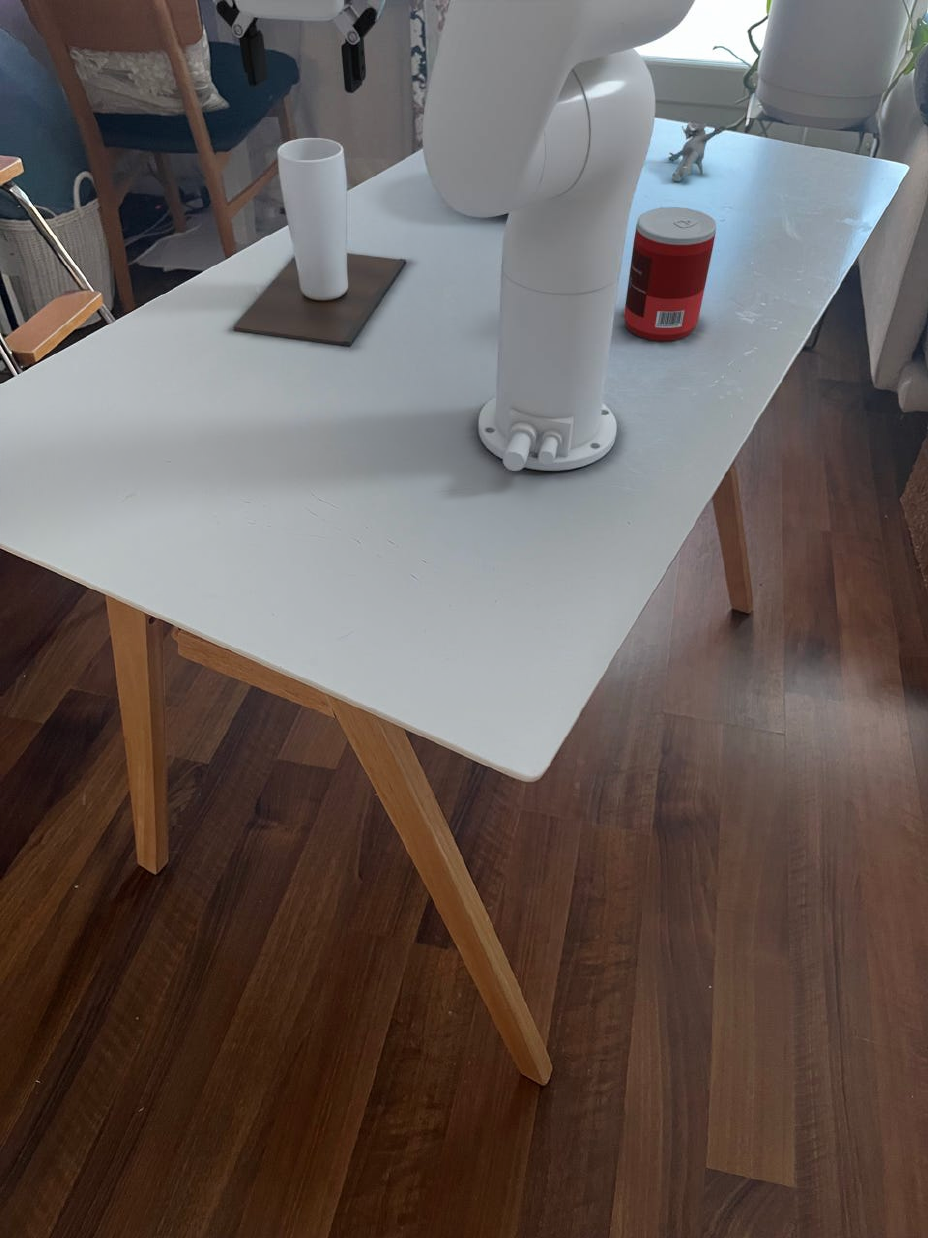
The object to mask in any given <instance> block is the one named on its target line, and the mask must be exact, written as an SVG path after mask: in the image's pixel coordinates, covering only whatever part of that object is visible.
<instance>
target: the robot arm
mask: <svg viewBox="0 0 928 1238" xmlns="http://www.w3.org/2000/svg"><path fill="white" fill-rule="evenodd" d="M211 1H212V2H213V3H214V4H215V8H216V9H215V10H216V12H217V13H218V15H219V16H220V17H221V18H222V19H223V20H224V22H226V24H228V26H229V27H230V28H231V32H232V34H233V35H234V37H236V38H238V42H239V48H240V55H241V61H242V68H243V71H244V73H245V74H247V81H248V85H249V86H250V87H257V86H258V85H259V84H261V83H263V81H265V80H267V79H268V77H269V71H268V64H267V63H268V62H267V56H266V55H267V54H266V49H265V40H264V34H263V33H262V30H260V29H258V27H257V25H258V24H259V22H260V20H261V19H268V20H269V19H270V20H286V21H305V22H306V21H307V22H327V21H332V23H333V24H334V25H335V26H336V28H337V29H338V30H339V32H340V33H341V35H342V36H343V37H344V43H343V44H342V45H341V46H340V47H341V49H340V50H341V62H342V72H343V84H344V85H343V86H344V91H345V92H346V93H347V94H353V93H355V92H356V91H357V90H359V88H360V87H362V86H363V82H364V81H365V79H366V77H367V67H366V66H367V65H366V54H365V53H366V52H365V37H367V36H368V33H370V31H371V29H373V27H374V26H375V25H376V23H377V22H378V21H379V20H380V18H381V15H382V11H383V9H384V7H385V5H386V4H385V3H386V1H387V0H367V1H366V6H365V7H364V10H363V11H362V13H361V14H360V13H358V11H357V10H356V9H355V8H354V6H353V3H354V2H355V1H354V0H211ZM695 2H696V0H449V5H448V8H447V12H446V16H445V20H444V24H443V28H442V32H441V36H440V39H439V44H438V48H437V51H436V55H435V60H434V62H433V63H434V64H433V67H432V71H431V76H430V79H429V84H428V88H427V92H426V96H425V101H424V107H423V108H424V109H423V116H422V126H421V127H422V129H421V131H422V132H421V133H422V134H421V135H422V139H421V140H422V152H423V159H424V163H425V168H426V170H427V173H428V177H429V180H430V182H431V184H432V186H433V188H434V190H435V191H436V193H437V194H438V195H439V197H440V198H441V199H442V201H443V202H444V203H446V205H447V206H449V207H450V208H451V209H453V210H454V211H456V212H458V213H459V214H462V215H464V216H468V217H473V218H478V219H479V218H480V219H481V218H484V219H485V218H493V217H499V216H503V215H506V214H508V215H507V219H506V223H505V228H504V233H503V239H502V250H501V265H500V288H499V289H500V290H499V291H500V293H499V315H498V316H499V318H498V342H497V343H498V345H497V368H496V369H497V371H496V393H495V394H496V395H495V396H494V397H492V398H490V400H488V401H487V402H486V403H485V405H484V406H483V407H482V408H481V410H480V412H479V415H478V426H477V428H478V436H479V438H480V441H481V442H482V443H483V445H484V446H485V447H486V449H487V450H489V451H490V452H491V453H492V454H493V455H494V456H496V457H498V458H500V459H502V464H503V465H504V467H505V468H506V469H507V470H509V471H513V472H518V471H519V472H520V471H521V470H522V469H524V468H525V469H529V470H536V471H545V472H546V471H549V472H550V471H551V472H559V471H568V470H569V471H570V470H573V469H577V468H582V467H584V466H588V465H591V464H593V463H595V462H596V461H598V460H600V459H602V458H603V457H604V456H605V455H606V454H608V453H609V452H610V451H611V449H612V447H613V446H614V444H615V441H616V436H617V429H618V428H617V427H618V423H617V420H616V417H615V415H614V413H613V412H612V410H611V409H610V408H609V407H608V406H607V405H606V404H605V403H604V398H605V397H604V396H605V389H606V381H607V375H608V374H607V373H608V368H609V367H608V366H609V359H610V351H611V345H612V344H611V343H612V337H613V330H614V322H615V313H616V305H617V299H618V292H619V284H620V275H621V271H622V263H623V256H624V249H625V242H626V236H627V229H628V225H629V221H630V214H631V209H632V206H633V202H634V197H635V194H636V190H637V187H638V183H639V180H640V177H641V175H642V171H643V168H644V164H645V161H646V158H647V157H648V156H647V155H648V152H649V149H650V145H651V141H652V137H653V132H654V127H655V117H656V94H655V88H654V87H655V86H654V82H653V79H652V75H651V72H650V70H649V68H648V66H647V64H646V62H645V61H644V59H643V58H642V56H641V55H640V54H639V52H638V51H637V50H636V49H635V48H638V47H642V46H644V45H647V44H650V43H652V42H655V41H657V40H660V39H661V38H663V37H664V36H666V35H667V34H669V33H670V32H672V31H673V30H675V29H676V28H677V27H678V26H679V25H680V24H681V23H682V22H683V21H684V19H686V16H687V15H688V13H689V12H690V10H691V9H692V7H693V5H694V4H695Z"/></svg>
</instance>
